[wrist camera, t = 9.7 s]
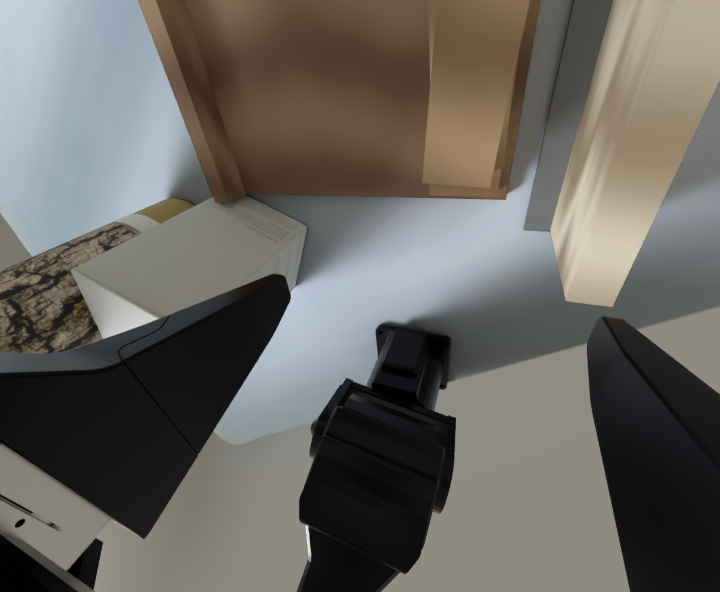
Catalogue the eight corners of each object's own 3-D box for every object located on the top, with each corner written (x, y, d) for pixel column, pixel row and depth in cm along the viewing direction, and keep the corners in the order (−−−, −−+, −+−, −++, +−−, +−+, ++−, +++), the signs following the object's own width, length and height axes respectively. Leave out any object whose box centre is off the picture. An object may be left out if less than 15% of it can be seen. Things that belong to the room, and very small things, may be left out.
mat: (603, 232, 18) (604, 234, 17) (523, 228, 19) (523, 230, 19) (729, -99, 10) (734, -102, 10) (588, -67, 12) (589, -69, 12)
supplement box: (229, 184, 25) (62, 264, 16) (310, 225, 24) (189, 333, 15) (228, 254, 30) (101, 347, 21) (295, 290, 29) (197, 401, 20)
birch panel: (582, 231, 18) (612, 306, 12) (550, 229, 18) (566, 301, 13) (695, -98, 11) (870, -237, 5) (636, -84, 11) (745, -199, 6)
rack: (505, 194, 18) (505, 213, 16) (239, 189, 25) (215, 202, 23) (581, -243, 10) (599, -318, 8) (153, -74, 17) (103, -92, 15)
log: (202, 192, 26) (-497, 519, 8) (235, 262, 30) (-191, 594, 12) (150, 198, 29) (-463, 452, 11) (186, 261, 33) (-223, 530, 15)
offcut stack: (501, 190, 17) (500, 211, 15) (427, 189, 19) (416, 208, 17) (569, -227, 10) (586, -307, 8) (436, -176, 11) (418, -231, 9)
